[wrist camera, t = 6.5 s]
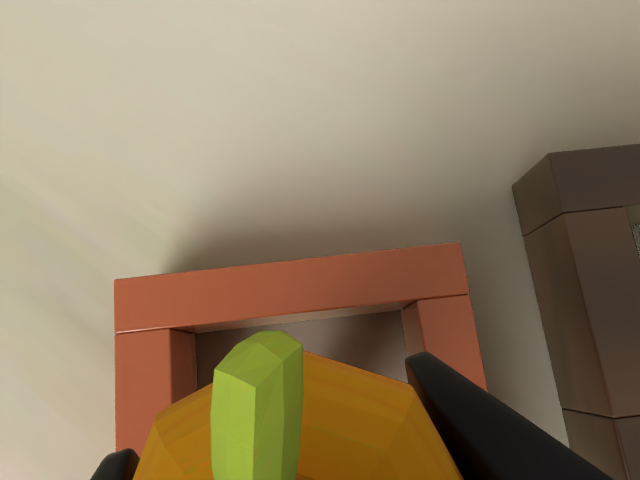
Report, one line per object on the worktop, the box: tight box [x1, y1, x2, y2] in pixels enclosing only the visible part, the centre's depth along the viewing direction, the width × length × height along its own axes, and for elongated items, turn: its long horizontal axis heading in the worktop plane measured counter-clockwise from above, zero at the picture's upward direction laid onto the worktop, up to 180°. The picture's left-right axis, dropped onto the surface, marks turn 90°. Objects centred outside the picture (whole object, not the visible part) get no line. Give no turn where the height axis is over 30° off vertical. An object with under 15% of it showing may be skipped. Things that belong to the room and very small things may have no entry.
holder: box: [114, 242, 488, 458], centre depth 15 cm, size 10×10×3 cm
